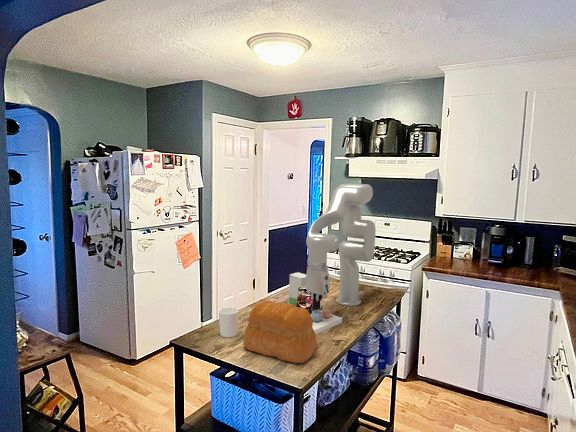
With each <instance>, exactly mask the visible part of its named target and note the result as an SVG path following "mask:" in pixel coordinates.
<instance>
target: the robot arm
mask: <svg viewBox="0 0 576 432" xmlns="http://www.w3.org/2000/svg"><path fill="white" fill-rule="evenodd" d="M373 196H374V191H373V187H372V186H371V185H370V184H367V183H365V184H364V183H341V184H339V185H337V187H336V188H335V189H334V190H333V192H332V195H331V198H330V201H329V204H328V205H327V209H326V212H324V213H323V214H321V215H320V216H318V218H316V220H314V221H313V222H312V224H311V225H310V227H309V230H308V231H307V236H306V239H305V240H306V241H305V244H306V247H307V248H308V266H307V267H308V268H307V270H306V274H305V275H306V284H305V286H306V290H307V291H306V292H307V293H308V294H309V297H310V298H311V300H312V310H320V309H321V301H322V300H323V299H327V298H328V294H330V291H331V284H330V283H331V281H330V279H331V278H330V273H329V270H328V269H329V265H328V264H327V263H328V262H327V261H328V253H334V252H336V251H337V250H338V256H339V285H338V286H339V287H338V288H339V289H338V290H339V293H338V296H337V297H336V298H335V302H336V303H337V304H339V305H342V306H348V307H350V306H351V307H354V306H358V305H360V304H361V303H362V299H361V298H360V296H362V295H363V294H364V293H363V291H361V290H360V291H359V282H360V281H359V278H360V276H359V275H360V267H359V265H358V262H371V261H372V260H373V259H374V256H375V248H376V247H375V244H376V234H377V233H376V231H377V230H376V229H377V228H376V224H375V223H374V222H373V221H372V220H370V219H362V211H363V210H362V207H361V206H363V205H365V204H367V203H369V202H370V201H371V199H373ZM341 222H343V226H342V228H343V229H342V231H343V233H342V234H343V235H344V236H345V237H347V238H351V239H360V240H363V241H360V240H359V241H358V240H351V239H349V240H348V239H346V240H343V241H341V242H340V239H339V237H338V235H335V234H332V233H331V234H330V233H322V232H321V231H323V230H324V229H325V228H327V227H329V226H332V225H336V224H338V223H341ZM320 232H321V233H320Z"/></svg>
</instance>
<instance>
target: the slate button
mask: <svg viewBox="0 0 576 432" xmlns="http://www.w3.org/2000/svg"><path fill="white" fill-rule="evenodd" d="M321 311H322V310H320V309H318V310H315V309H313V310H312V311H311V314H312V320H313V322H315V323H319V322H321Z"/></svg>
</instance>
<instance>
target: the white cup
mask: <svg viewBox="0 0 576 432" xmlns="http://www.w3.org/2000/svg"><path fill="white" fill-rule="evenodd" d="M218 323H219V330H220V331H219V332H220V333H219V334H220V336H221V337H223V338H233V337H236V336H237V335H238V328H239V327H238V326H239V309H238V308H237V307H232V306H226V307H222V308H220V309H218Z"/></svg>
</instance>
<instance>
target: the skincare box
mask: <svg viewBox="0 0 576 432" xmlns="http://www.w3.org/2000/svg"><path fill="white" fill-rule="evenodd" d="M305 284H306V274H305V273H302V272H298V271H297V272H294V273H290V274H289V283H288V285H289V286H288V302H287V304H292V305H294V306H296V301H297V294H298V288H299V287H301V286H305Z"/></svg>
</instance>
